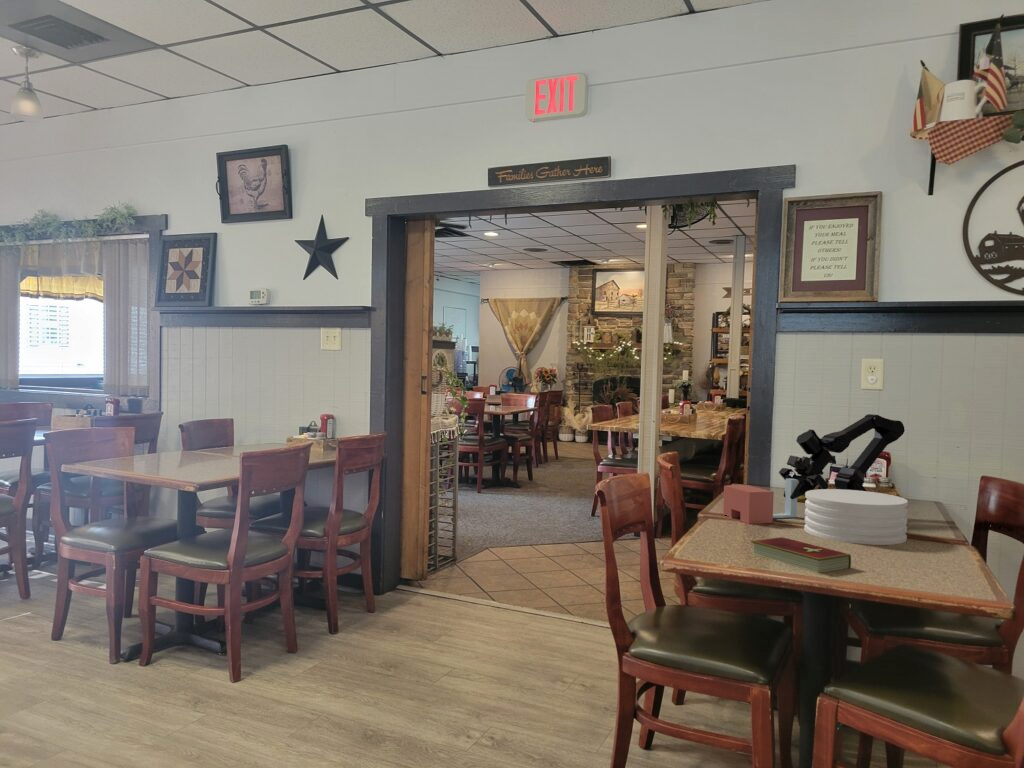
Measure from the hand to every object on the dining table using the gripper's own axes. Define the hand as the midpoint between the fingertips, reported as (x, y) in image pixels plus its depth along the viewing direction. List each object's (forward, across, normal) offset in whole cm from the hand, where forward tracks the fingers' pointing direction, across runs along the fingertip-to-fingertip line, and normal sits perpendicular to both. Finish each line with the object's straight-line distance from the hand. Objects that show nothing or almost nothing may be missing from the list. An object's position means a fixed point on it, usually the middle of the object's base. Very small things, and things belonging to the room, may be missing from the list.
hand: (787, 497), depth 248 cm
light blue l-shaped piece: (+7, 0, +2) cm, 8 cm away
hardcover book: (+30, +50, -20) cm, 62 cm away
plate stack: (+2, +26, +7) cm, 28 cm away
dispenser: (+16, 0, -6) cm, 17 cm away
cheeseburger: (-15, -26, +25) cm, 39 cm away
